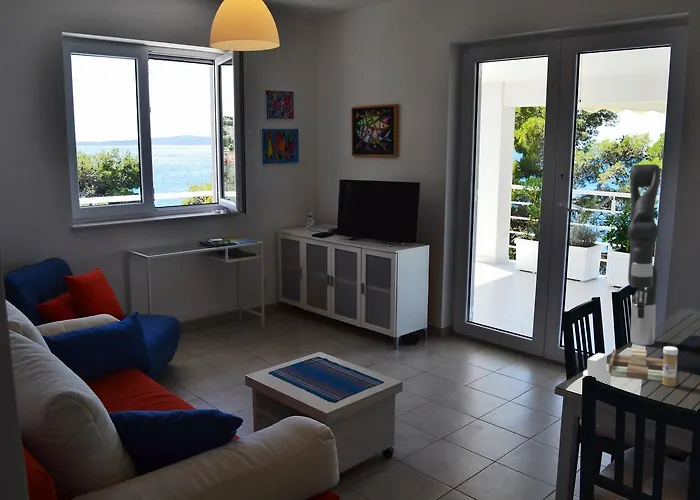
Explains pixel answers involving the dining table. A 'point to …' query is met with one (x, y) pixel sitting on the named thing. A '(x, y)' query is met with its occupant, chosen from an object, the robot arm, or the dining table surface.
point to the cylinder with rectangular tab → (598, 368)
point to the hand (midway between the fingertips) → (640, 317)
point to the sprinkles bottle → (670, 366)
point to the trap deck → (636, 367)
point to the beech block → (638, 357)
